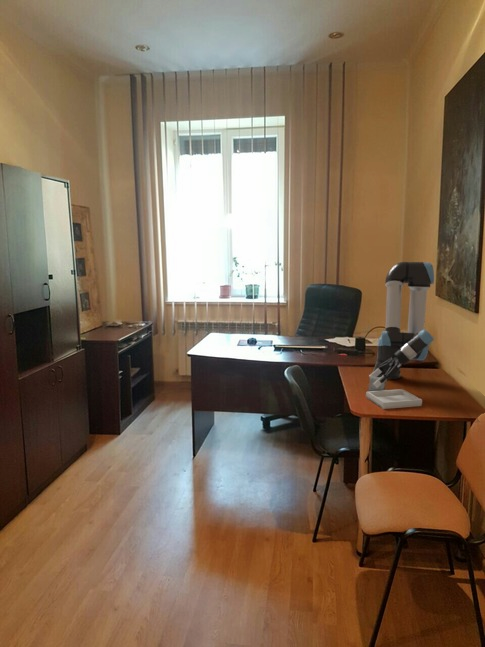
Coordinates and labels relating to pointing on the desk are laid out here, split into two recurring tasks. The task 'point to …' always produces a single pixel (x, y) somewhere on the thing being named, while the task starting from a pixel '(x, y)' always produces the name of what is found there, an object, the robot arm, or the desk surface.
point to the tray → (393, 398)
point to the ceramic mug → (372, 387)
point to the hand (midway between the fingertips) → (372, 381)
